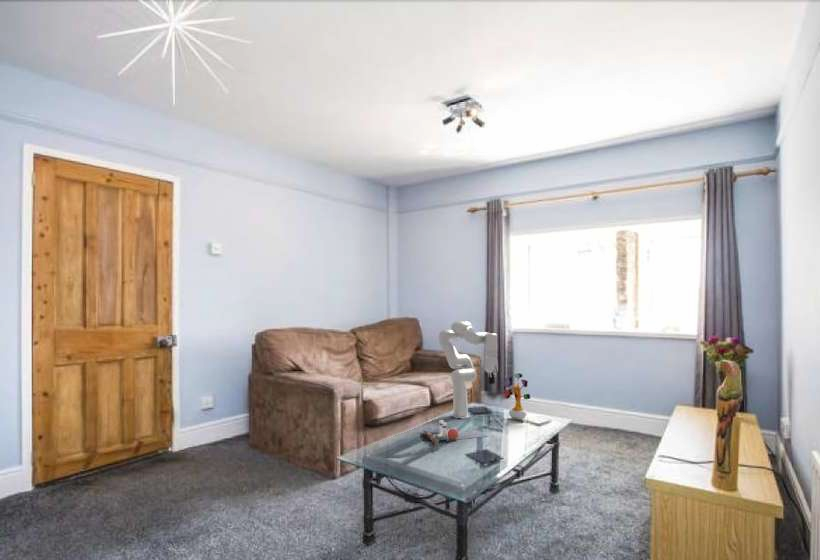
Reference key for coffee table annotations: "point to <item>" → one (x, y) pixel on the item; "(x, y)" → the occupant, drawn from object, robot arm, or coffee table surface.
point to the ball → (452, 434)
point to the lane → (469, 435)
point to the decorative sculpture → (516, 397)
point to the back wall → (432, 437)
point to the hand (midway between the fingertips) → (491, 383)
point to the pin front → (439, 435)
